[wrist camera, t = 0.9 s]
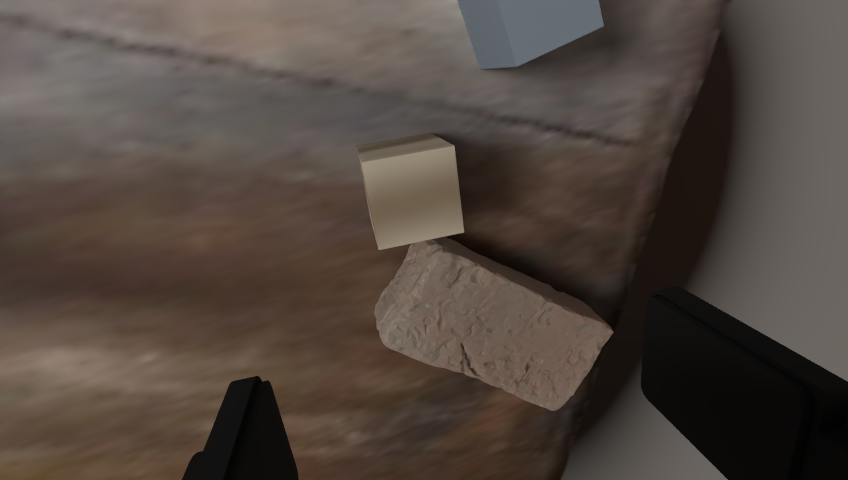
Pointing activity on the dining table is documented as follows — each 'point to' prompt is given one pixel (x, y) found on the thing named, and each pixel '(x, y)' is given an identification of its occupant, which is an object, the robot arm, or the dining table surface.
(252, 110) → the dining table surface
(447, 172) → the beech block
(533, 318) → the brick
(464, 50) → the dining table surface
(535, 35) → the slate block
